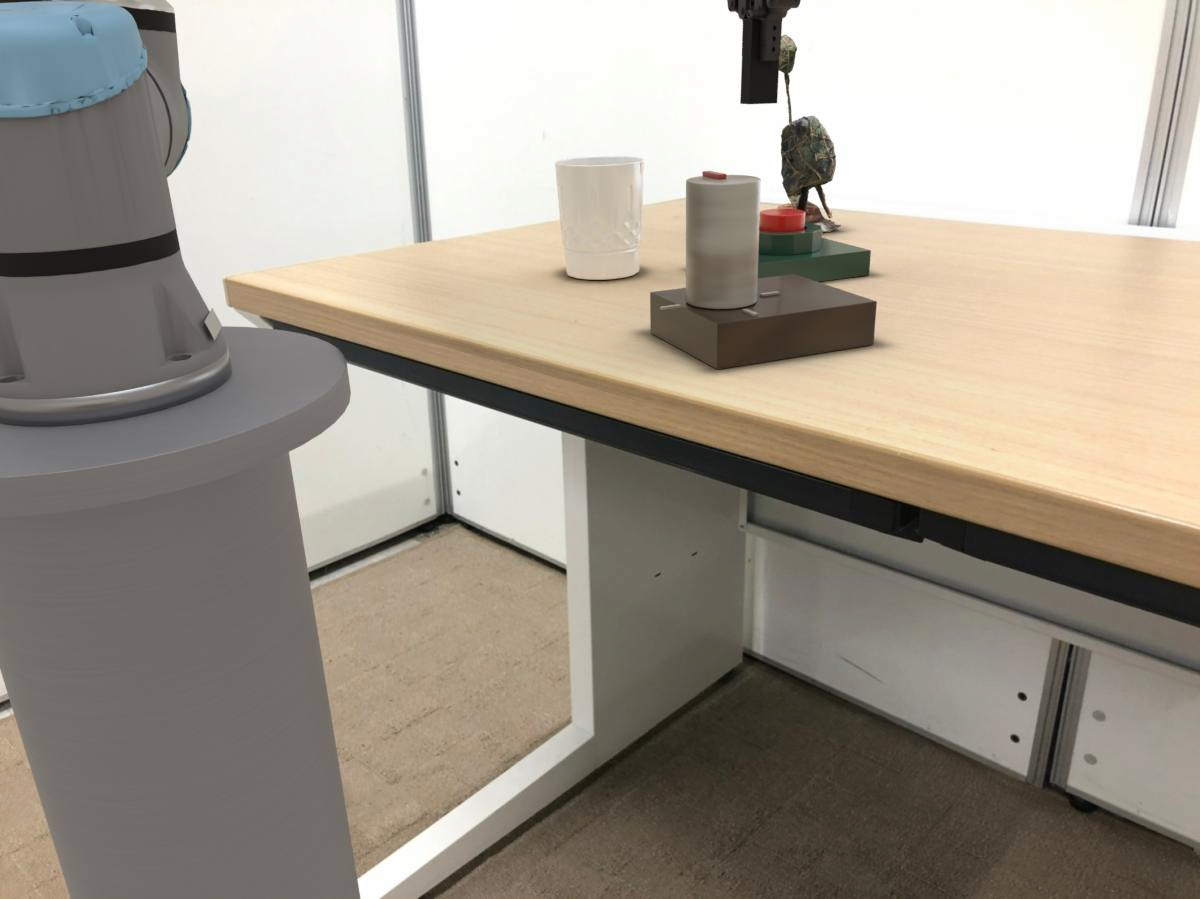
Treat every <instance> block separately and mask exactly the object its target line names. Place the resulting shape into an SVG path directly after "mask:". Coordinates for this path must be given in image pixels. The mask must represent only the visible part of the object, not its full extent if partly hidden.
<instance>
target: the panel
mask: <svg viewBox="0 0 1200 899" xmlns="http://www.w3.org/2000/svg"><path fill="white" fill-rule="evenodd" d="M649 303H650V304H649V309H650V310H649V312H650V313H649V314H650V316H649V319H650V322H649V323H650V324H649V325H650V334H652V335H654V336H655V337H657V338H659V339H661V340H663V341H664V342H667V343H668V344H670V345H672V346H674V347H676V348H677V349H680V351H683V352H685V353H687V354H689V355H691V356H692V357H694V358H696V359H698V360H699V361H702V362H703V363H705V364H706V365H708V366H710V367H712V368H714V369H716V370H721V369H722V370H723V369H729V368H734V367H741V366H747V365H752V364H760V363H766V362H773V361H778V360H785V359H792V358H797V357H798V358H799V357H804V356H809V355H816V354H824V353H828V352H835V351H836V352H837V351H842V350H847V349H855V348H860V347H866V346H872V345H874V343H875V333H876V332H875V329H876V316H877V305H878V302H877V300H875V299H871V298H869V297H864V296H863V295H859V294H856V293H854V292H853V293H852V292H849V291H846V290H844V289H841V288H837V287H836V286H835V287H834V286H831V285H828V284H826V283H823V282H821V281H820V282H817V281H814V280H811V279H808V278H804V277H801V276H798V275H795V274H791V275H783V276H775V277H767V278H759V279H758V289H757V302H756V303H755V304H753V305H750V306H747V307H742V308H734V309H708V308H700V307H696V306H692V305H690V304H688V303H687V302H686V287H680V288H672V289H663V290H657V291H650V292H649Z"/></svg>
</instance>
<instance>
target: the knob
mask: <svg viewBox="0 0 1200 899" xmlns="http://www.w3.org/2000/svg"><path fill="white" fill-rule="evenodd" d="M701 174H702V175H699V176H693V177H689V178H687V179H686V180H685V288H686V302H687V303H688V304H690V305H692V306H696V307H700V308H708V309H734V308H742V307H747V306H750V305H753V304H755V303H756V302H757V289H758V255H759V222H760V211H761V188H762V186H761V184H762V180H761V178H760V177H759V176H754V175H746V174H745V175H744V174H727V173H723V172H718V171H712V170H703V171H702V173H701Z"/></svg>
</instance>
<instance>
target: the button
mask: <svg viewBox="0 0 1200 899" xmlns="http://www.w3.org/2000/svg"><path fill="white" fill-rule="evenodd" d="M759 230H761V231H769V232H794V231H802V230H805V211H802V210H798V209H777V208H770V209H763V210H760V222H759Z"/></svg>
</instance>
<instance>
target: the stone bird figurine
mask: <svg viewBox="0 0 1200 899" xmlns="http://www.w3.org/2000/svg"><path fill="white" fill-rule="evenodd" d="M780 47H781V53H780V58H779V72H781V73H783V75H784V76H783V78H784V84H785V92H786V93H785V94H786V97H787V106H788V107H787V110H788V111H787V112H788V124H787V125H785V126H784V127H783V128H782V130H781V134H780V139H781V141H780V154H781V155H780V156H781V171H780V175H781V177H782V181H781V182H782V183H781V184H782V188H783V189H784V192H785V194H786V196H787V198H788V200H789V202H790V203H789V202H788V203H783V204H781V205H777V207H776V209H798V210H802V211H805V222H806V223H812V224H816V225H820V226H821V228H822V234H823V233H825V232H832V231H835V230H838V228H840V227H841V226H842V225H841V224H839V223H836V222H835V221H832V218H833V216H834V215H833V211H832V210H831V209H830V207H829V206H828V204H827V202H826V200H827V199H826V194H825V192H824V189H823V187H822V186H824V185H827V184H828V183H831V182H832V181H833V179H834V176H835V171H836V167H837V154H836V152H835V144H834V142H833V141H832V139H831V137H830V135H829V133H828V130H827V129H826V128H825V127H824V124H822V122H821V121H820V119H819V118H818V117H816V116H815V115H808V116H805V115H804V116H801V118H798V119H795V120H793V119H792V104H791V102H792V101H791V97H790V96H791V95H790V83H791V80H790V75H789V74H790V73H792V71H793V70H794V66H795V62H796V53H797V51H798V47H797V45H796V43H795V41H794V39H792V37H790V36H788V35H787V34H783V35H781V46H780ZM812 188H814V189H815V191H816V192H817V195H818V198H819V202H821V206H822V207H823V210H824V212H825V214H826V216H827V217H828V218H826V217H825V216H824V215H823V214H822V210H821V209H820V207H819V206H818V205H817V204H814V203H813V202H811V201H809V200H808V199H809V195H810V194H809V193H810V190H812Z"/></svg>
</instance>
